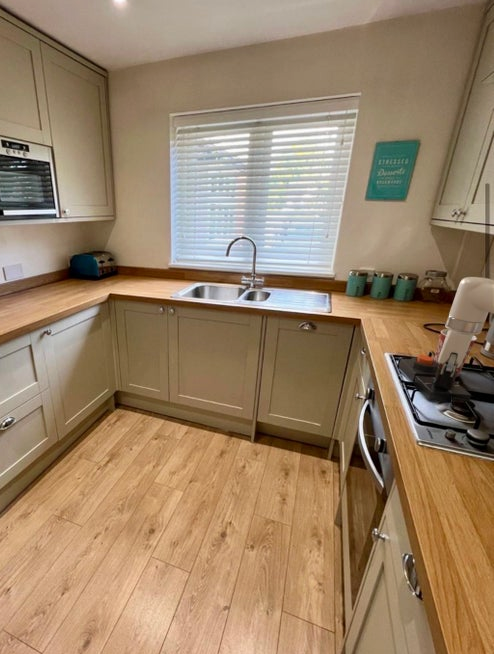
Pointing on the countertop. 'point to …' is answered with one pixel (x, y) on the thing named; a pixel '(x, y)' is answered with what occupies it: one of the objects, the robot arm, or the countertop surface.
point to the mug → (440, 344)
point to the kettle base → (417, 368)
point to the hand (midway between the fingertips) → (442, 382)
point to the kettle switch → (425, 360)
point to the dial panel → (439, 390)
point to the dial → (440, 372)
